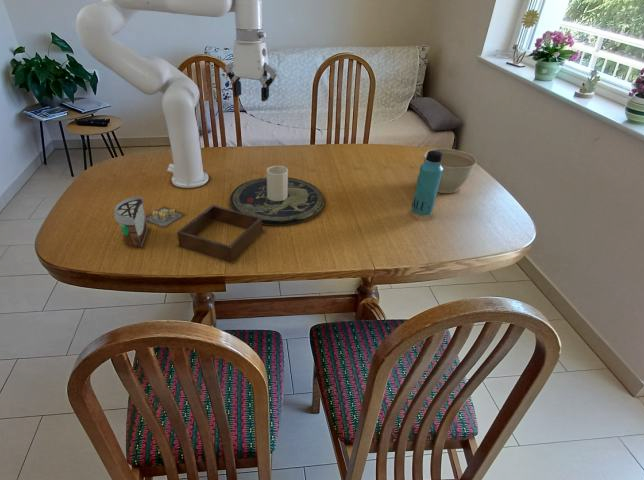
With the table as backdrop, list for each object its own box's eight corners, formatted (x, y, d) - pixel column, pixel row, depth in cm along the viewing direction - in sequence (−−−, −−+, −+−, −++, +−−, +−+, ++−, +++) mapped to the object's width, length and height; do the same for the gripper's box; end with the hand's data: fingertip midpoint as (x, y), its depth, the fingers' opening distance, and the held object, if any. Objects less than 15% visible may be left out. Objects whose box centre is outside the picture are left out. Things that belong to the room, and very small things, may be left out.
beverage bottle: (432, 211, 126) (448, 149, 114) (431, 222, 121) (447, 158, 109) (410, 208, 128) (424, 146, 116) (408, 218, 123) (422, 154, 111)
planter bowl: (443, 174, 148) (450, 145, 142) (477, 193, 136) (487, 162, 130) (408, 182, 142) (414, 152, 136) (440, 202, 131) (449, 171, 124)
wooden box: (179, 246, 110) (176, 232, 108) (213, 217, 122) (212, 204, 120) (231, 262, 105) (230, 248, 102) (262, 231, 117) (262, 217, 114)
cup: (263, 198, 129) (262, 171, 123) (273, 190, 133) (272, 164, 128) (282, 203, 126) (282, 176, 121) (290, 194, 131) (291, 168, 126)
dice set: (176, 215, 123) (175, 209, 122) (164, 222, 120) (163, 217, 119) (164, 210, 126) (163, 205, 124) (152, 218, 122) (150, 212, 121)
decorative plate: (216, 214, 120) (244, 172, 144) (217, 220, 121) (244, 177, 145) (317, 226, 116) (329, 180, 139) (317, 232, 117) (328, 185, 140)
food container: (127, 227, 118) (118, 196, 112) (148, 226, 118) (141, 195, 112) (116, 251, 108) (107, 219, 102) (140, 250, 108) (132, 218, 103)
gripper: (282, 36, 115) (281, 99, 126) (230, 31, 122) (234, 91, 132) (269, 40, 110) (270, 105, 120) (216, 34, 116) (220, 97, 126)
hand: (251, 98), depth 126 cm, fingers open, 9 cm apart
